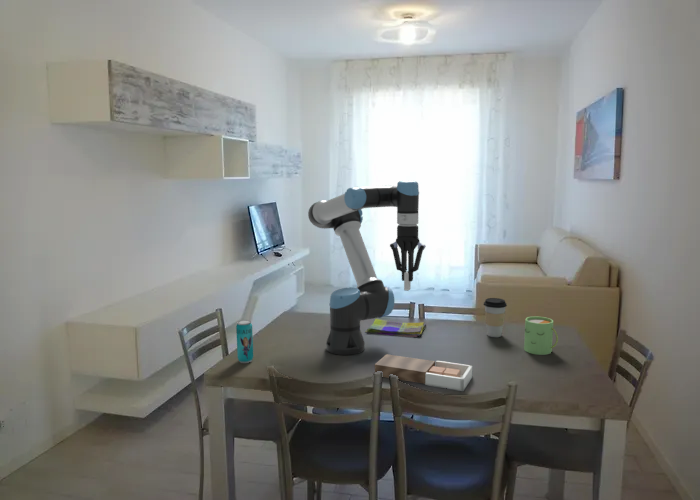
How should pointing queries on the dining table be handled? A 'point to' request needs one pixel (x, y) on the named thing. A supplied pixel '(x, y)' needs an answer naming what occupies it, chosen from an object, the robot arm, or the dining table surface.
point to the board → (404, 367)
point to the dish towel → (396, 328)
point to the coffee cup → (494, 316)
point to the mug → (539, 335)
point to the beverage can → (244, 341)
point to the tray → (450, 381)
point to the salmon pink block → (437, 370)
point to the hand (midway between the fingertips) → (407, 289)
